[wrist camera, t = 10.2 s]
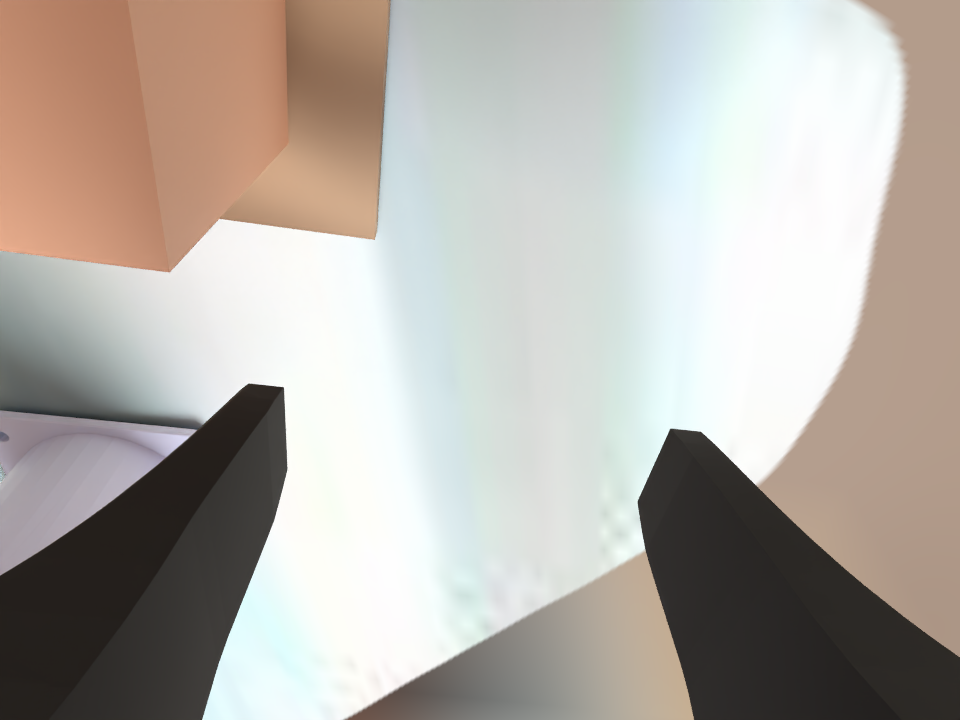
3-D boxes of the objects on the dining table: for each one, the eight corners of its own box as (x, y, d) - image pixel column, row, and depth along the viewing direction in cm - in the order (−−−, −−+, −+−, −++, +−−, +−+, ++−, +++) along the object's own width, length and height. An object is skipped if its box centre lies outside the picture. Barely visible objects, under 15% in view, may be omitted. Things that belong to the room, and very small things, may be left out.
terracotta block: (288, 143, 16) (169, 272, 10) (98, 113, 16) (-164, 229, 9) (283, -79, 13) (110, -109, 7) (51, -124, 13) (-375, -203, 6)
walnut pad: (376, 231, 18) (374, 239, 18) (38, 186, 17) (25, 192, 17) (401, -195, 13) (399, -201, 12) (-97, -302, 12) (-121, -313, 11)
